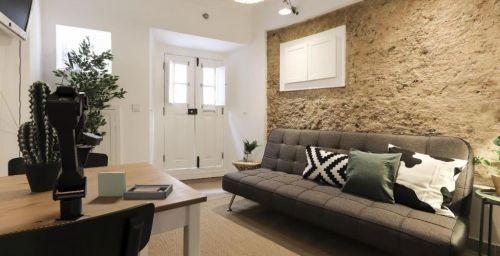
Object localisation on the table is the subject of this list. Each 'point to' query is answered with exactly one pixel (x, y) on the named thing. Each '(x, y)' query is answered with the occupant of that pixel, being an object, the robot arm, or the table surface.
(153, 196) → the rack
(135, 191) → the offcut top
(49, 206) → the table surface
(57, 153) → the robot arm
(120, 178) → the board
